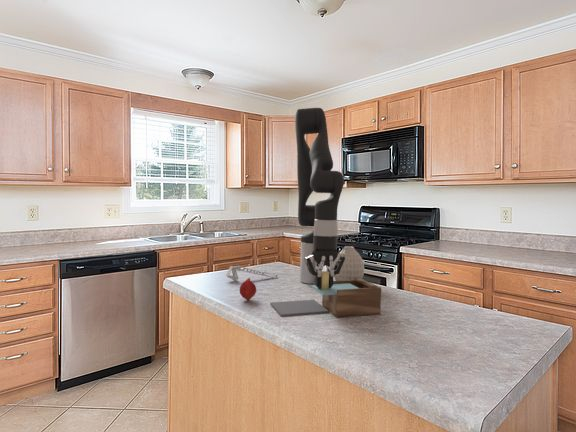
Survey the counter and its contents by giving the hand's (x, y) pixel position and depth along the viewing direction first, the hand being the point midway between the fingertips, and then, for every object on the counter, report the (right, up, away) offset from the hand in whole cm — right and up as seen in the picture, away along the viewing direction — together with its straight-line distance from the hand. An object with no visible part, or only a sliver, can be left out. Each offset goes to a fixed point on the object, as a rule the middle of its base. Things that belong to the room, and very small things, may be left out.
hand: (324, 287), depth 118 cm
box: (+9, -8, +3) cm, 13 cm away
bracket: (-27, -6, +45) cm, 53 cm away
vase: (+13, -7, +35) cm, 38 cm away
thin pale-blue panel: (+4, -1, +1) cm, 5 cm away
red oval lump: (-26, -7, +12) cm, 30 cm away
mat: (-8, -8, +4) cm, 12 cm away
